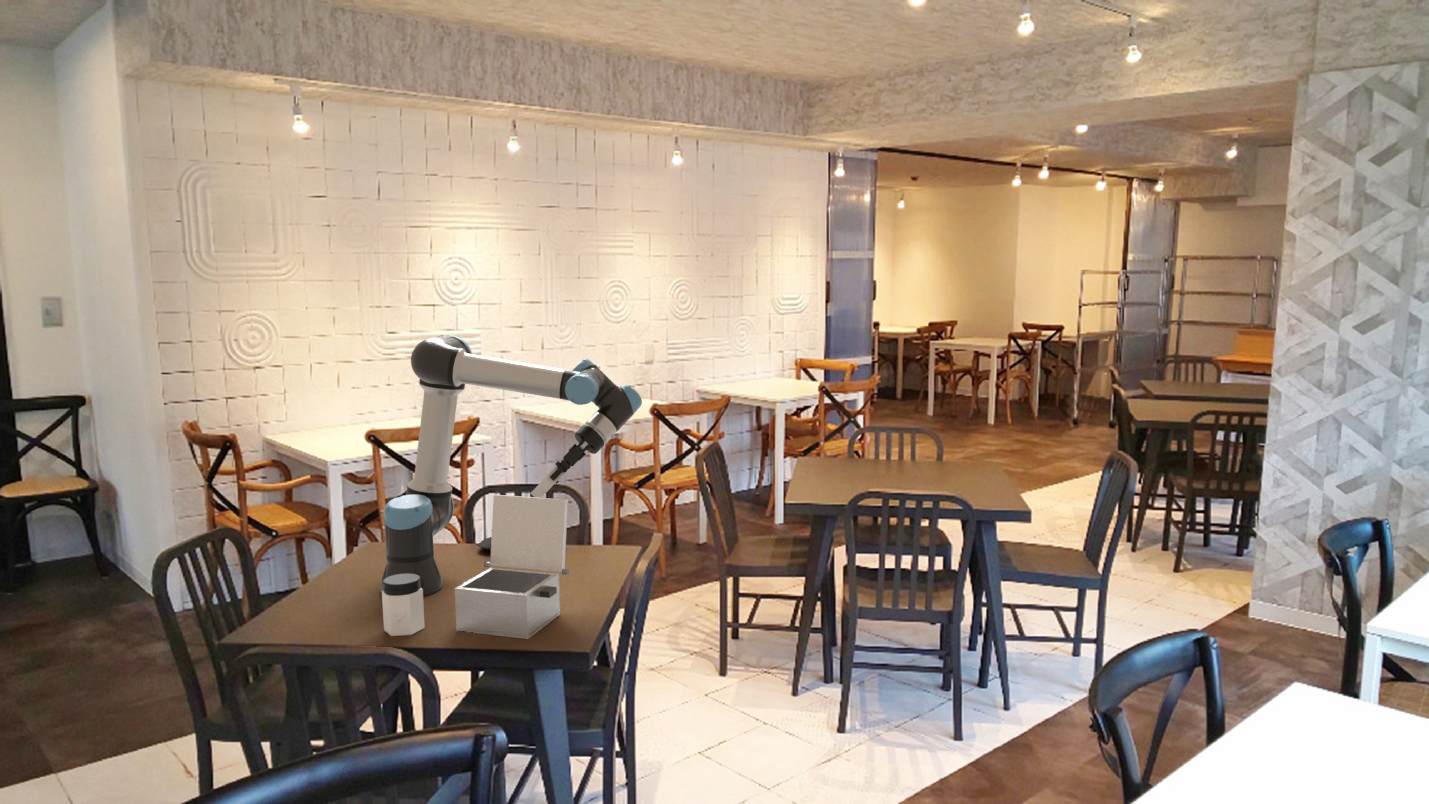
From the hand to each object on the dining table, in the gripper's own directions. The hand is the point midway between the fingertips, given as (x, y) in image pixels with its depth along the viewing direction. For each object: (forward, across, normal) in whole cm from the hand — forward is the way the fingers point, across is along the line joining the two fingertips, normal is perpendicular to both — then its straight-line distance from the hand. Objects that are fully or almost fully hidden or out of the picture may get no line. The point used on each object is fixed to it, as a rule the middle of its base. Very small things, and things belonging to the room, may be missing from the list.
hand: (537, 493), depth 241 cm
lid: (+10, -8, -5) cm, 14 cm away
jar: (+45, -5, 0) cm, 45 cm away
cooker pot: (+28, -9, -16) cm, 33 cm away
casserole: (+6, +47, -8) cm, 48 cm away
